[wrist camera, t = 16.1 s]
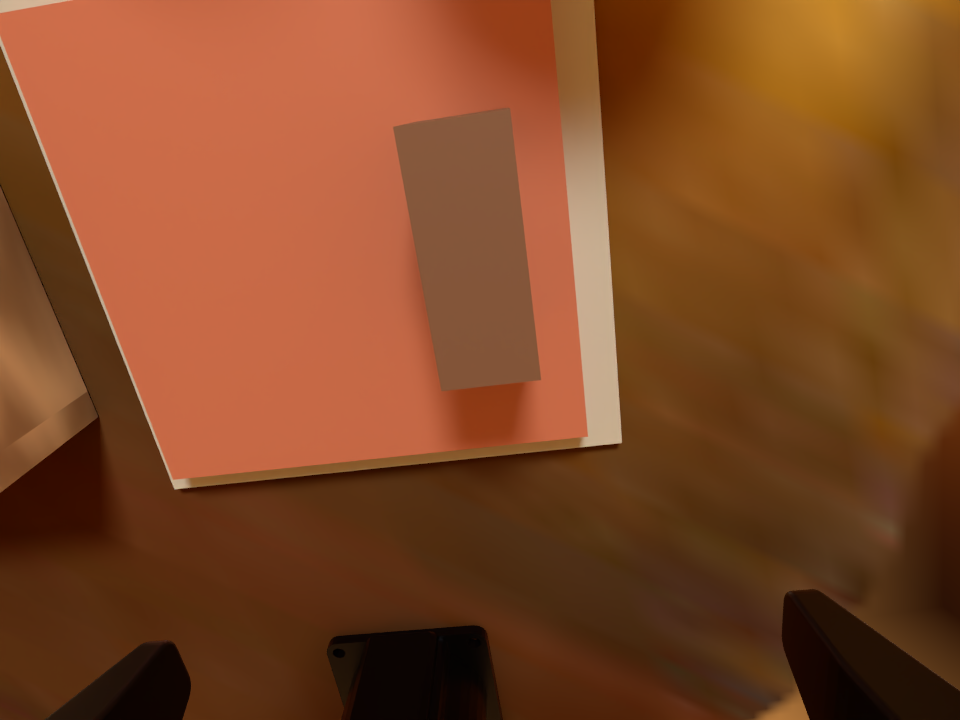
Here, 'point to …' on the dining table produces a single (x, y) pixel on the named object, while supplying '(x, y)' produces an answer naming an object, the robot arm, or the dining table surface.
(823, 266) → the dining table surface
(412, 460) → the mat
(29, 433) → the toolbox
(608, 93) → the dining table surface
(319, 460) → the lid
